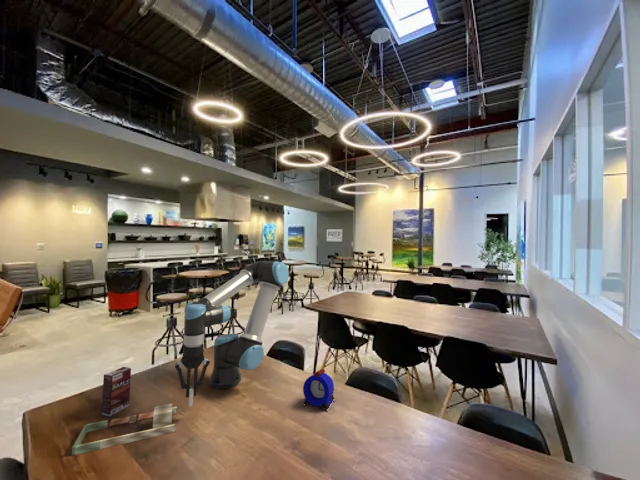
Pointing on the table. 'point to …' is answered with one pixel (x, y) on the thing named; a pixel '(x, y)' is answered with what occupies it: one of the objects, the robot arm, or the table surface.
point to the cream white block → (162, 416)
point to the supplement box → (116, 391)
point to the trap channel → (119, 439)
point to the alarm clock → (319, 390)
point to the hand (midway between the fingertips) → (190, 404)
